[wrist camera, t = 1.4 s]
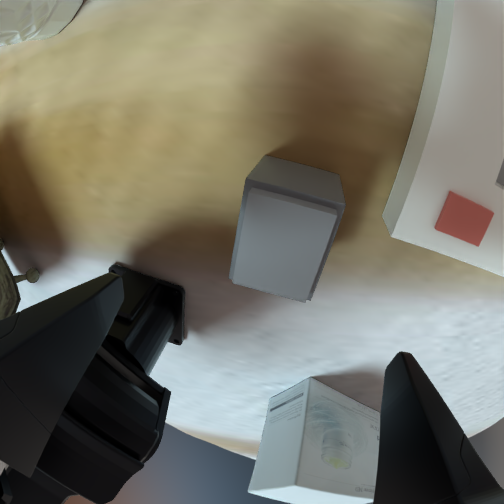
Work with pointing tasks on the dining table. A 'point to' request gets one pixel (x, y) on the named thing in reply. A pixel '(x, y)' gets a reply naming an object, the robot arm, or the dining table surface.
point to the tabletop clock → (11, 286)
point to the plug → (286, 227)
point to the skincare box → (317, 448)
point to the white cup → (34, 19)
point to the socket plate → (457, 142)
